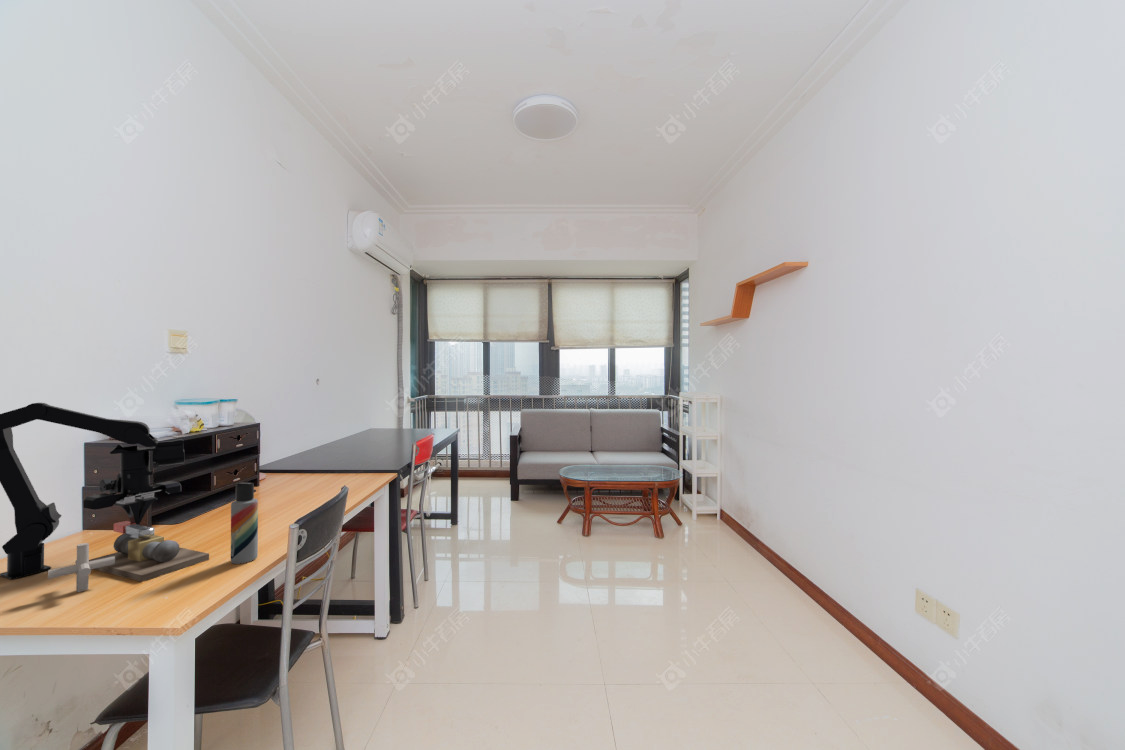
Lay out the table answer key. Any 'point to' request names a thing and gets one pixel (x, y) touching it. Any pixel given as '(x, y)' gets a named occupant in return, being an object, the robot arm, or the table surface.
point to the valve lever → (134, 529)
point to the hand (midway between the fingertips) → (136, 526)
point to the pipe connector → (81, 567)
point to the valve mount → (149, 557)
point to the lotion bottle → (244, 524)
